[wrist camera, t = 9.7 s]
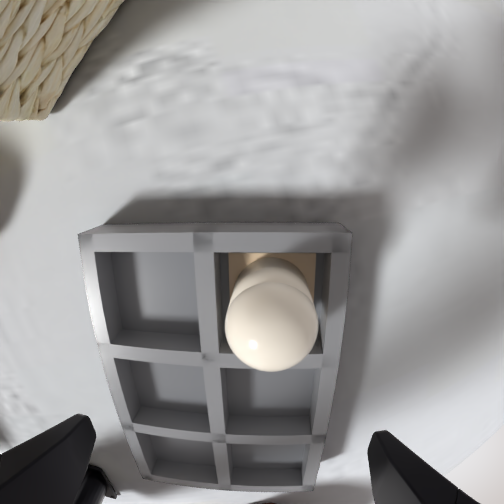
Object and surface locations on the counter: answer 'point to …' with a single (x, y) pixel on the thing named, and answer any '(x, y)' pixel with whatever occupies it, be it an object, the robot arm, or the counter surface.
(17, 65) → the storage basket
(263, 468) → the grey compartment tray
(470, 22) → the counter surface
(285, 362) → the egg
